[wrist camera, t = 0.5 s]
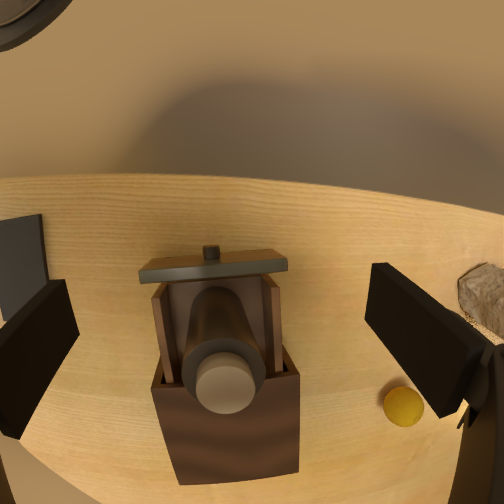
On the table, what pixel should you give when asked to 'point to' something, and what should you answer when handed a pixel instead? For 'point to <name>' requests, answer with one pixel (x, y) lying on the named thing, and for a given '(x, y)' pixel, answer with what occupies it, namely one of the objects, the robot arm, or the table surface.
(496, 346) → the robot arm
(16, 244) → the trivet mat
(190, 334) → the thermos bottle
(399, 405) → the lemon
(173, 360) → the drawer
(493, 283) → the decorative stone
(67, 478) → the table surface
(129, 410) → the table surface
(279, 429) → the cabinet
